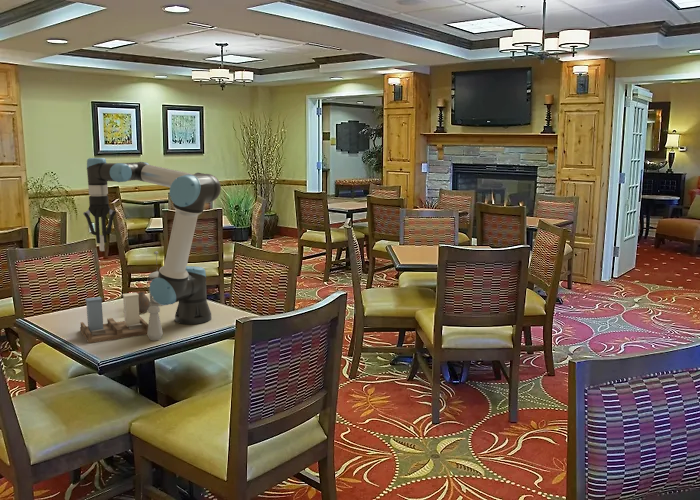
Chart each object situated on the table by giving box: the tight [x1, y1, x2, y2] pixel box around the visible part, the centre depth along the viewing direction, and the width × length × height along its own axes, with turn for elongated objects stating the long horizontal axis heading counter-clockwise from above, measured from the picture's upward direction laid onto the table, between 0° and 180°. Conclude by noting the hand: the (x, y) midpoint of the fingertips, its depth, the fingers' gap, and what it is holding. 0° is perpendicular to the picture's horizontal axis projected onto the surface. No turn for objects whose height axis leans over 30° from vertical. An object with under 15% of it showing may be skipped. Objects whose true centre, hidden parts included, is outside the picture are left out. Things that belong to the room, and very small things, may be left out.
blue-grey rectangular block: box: [85, 296, 104, 332], centre depth 245 cm, size 4×5×13 cm
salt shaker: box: [146, 306, 164, 342], centre depth 240 cm, size 6×6×13 cm
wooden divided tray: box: [80, 315, 149, 344], centre depth 249 cm, size 18×23×4 cm
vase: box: [137, 291, 150, 314], centre depth 279 cm, size 7×7×9 cm
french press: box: [146, 250, 164, 307], centre depth 292 cm, size 10×12×25 cm
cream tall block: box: [122, 291, 141, 327], centre depth 252 cm, size 4×5×13 cm
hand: (102, 250), depth 265 cm, fingers closed
